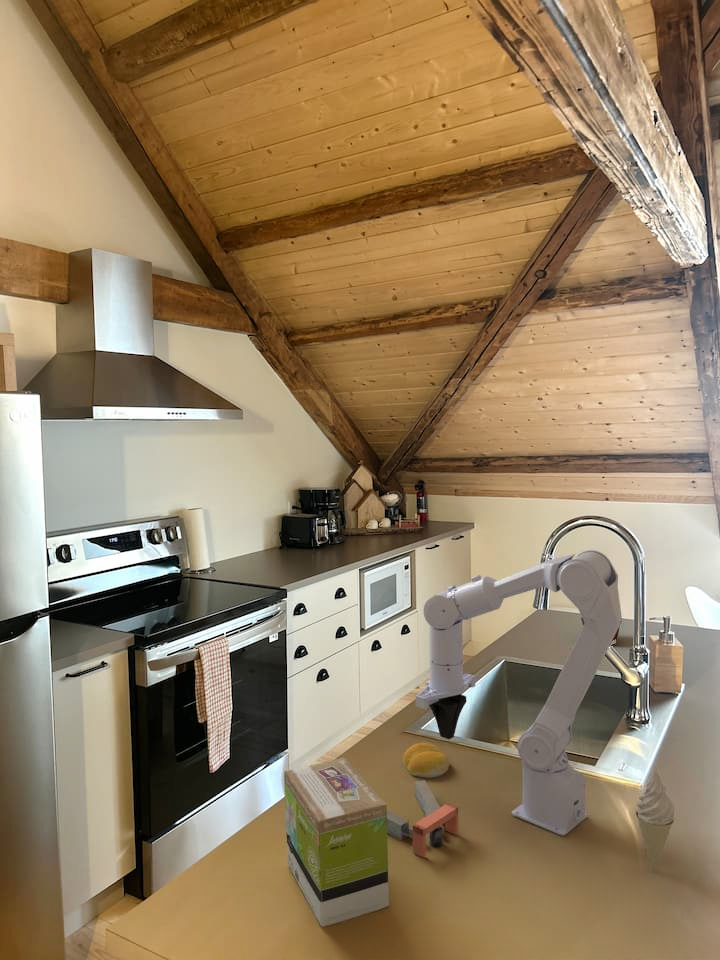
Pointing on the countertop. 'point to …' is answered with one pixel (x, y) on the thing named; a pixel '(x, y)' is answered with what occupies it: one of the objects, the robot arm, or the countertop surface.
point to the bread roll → (425, 760)
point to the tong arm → (426, 798)
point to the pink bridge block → (434, 826)
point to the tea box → (336, 840)
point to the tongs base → (410, 830)
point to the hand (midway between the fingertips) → (446, 736)
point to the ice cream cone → (655, 819)
